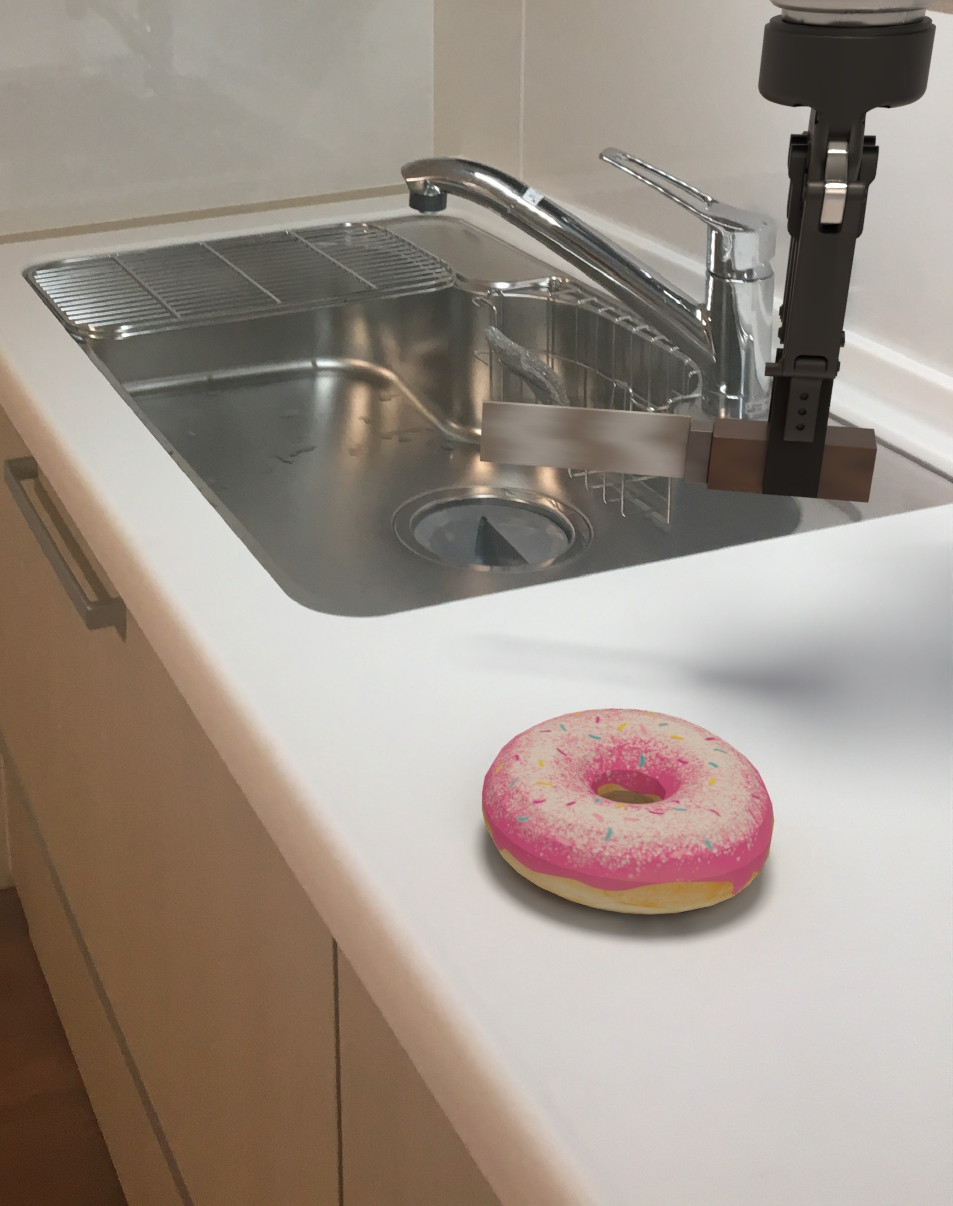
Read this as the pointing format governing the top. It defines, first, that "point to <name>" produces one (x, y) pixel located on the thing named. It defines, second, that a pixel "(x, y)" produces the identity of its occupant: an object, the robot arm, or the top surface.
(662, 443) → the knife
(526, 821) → the donut
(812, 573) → the top surface
